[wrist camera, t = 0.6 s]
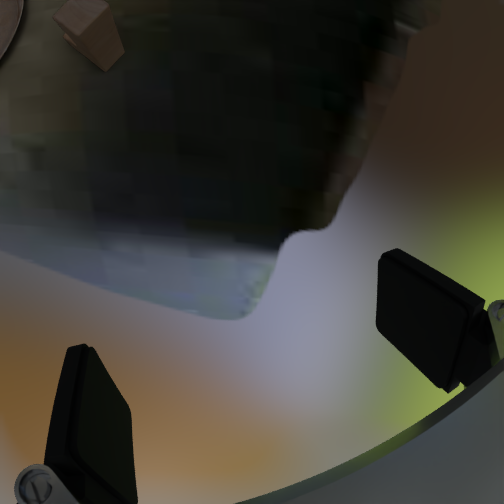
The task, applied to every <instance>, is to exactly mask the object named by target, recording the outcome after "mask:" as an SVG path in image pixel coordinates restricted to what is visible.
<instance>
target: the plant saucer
mask: <svg viewBox="0 0 504 504" xmlns="http://www.w3.org/2000/svg"><path fill="white" fill-rule="evenodd" d="M23 3H24V0H0V59H1V58H2V57H3V55H4V54H5V52H6V50H7V49H8V47H9V45H10V43H11V42H12V40H13V38H14V35H15V33H16V31H17V28H18V25H19V22H20V19H21V15H22V10H23Z"/></svg>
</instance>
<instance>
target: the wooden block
mask: <svg viewBox="0 0 504 504" xmlns="http://www.w3.org/2000/svg"><path fill="white" fill-rule="evenodd" d="M53 19H54V20H55V21H56V22H57V24H58V25H59V26H60V27H61V28H62V29H63V30H64V32H65V34H64V35H63V38H64V39H65V40H66V41H67V42H68V43H69V44H70V45H71V46H72V47H74V48H75V49H76V50H78V51H79V52H80V53H81V54H83V55H84V56H85V57H87V58H88V59H89V60H90V61H92V62H93V63H94V64H95V65H97V66H98V67H99V68H100V69H102V70H103V71H104V72H106V71H108V70H109V69H110V67H111V66H112V65H113V64H114V63H115V62H116V61H117V60H118V59H119V58H120V57H121V56H122V55H123V54H124V52H125V51H124V48H123V45H122V42H121V40H120V37H119V34H118V31H117V28H116V25H115V22H114V18H113V15H112V12H111V9H110V6H109V4H108V3H107V2H105V1H104V0H68V1H67V2H66V3H65V4H64V5H63V6H62V7H61V8H60V9H59V10H58V11H57V12H56V13H55V14H54V15H53Z"/></svg>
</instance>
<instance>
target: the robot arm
mask: <svg viewBox="0 0 504 504" xmlns="http://www.w3.org/2000/svg"><path fill="white" fill-rule="evenodd" d="M484 304H485V300H484V299H483V298H481V297H480V296H478V295H476V294H475V293H473V292H472V291H470V290H468V289H467V288H465V287H464V286H462V285H460V284H459V283H457V282H455V281H454V280H452V279H451V278H449V277H447V276H445V275H444V274H442V273H441V272H439V271H437V270H435V269H434V268H432V267H430V266H429V265H427V264H425V263H423V262H422V261H420V260H418V259H416V258H415V257H413V256H411V255H409V254H408V253H406V252H404V251H402V250H401V249H398V248H396V249H393V250H390V251H387V252H385V253H383V254H382V255H381V258H380V259H379V261H378V285H377V311H376V327H377V329H378V331H379V332H380V333H381V334H382V335H383V336H384V337H385V338H386V339H387V340H388V341H390V343H391V344H392V345H394V346H395V347H396V348H397V349H398V350H399V351H400V352H401V353H402V354H403V355H404V356H405V357H406V358H407V359H408V360H409V361H410V362H411V363H413V365H414V366H416V367H417V368H418V369H419V370H420V371H421V372H422V373H423V374H424V375H425V376H426V377H427V378H428V379H429V380H430V381H431V382H432V383H433V384H434V385H435V386H436V387H438V388H442V389H443V390H444V391H446V392H447V393H450V392H451V391H452V390H454V389H455V388H456V387H458V386H459V383H460V382H461V383H462V384H463V385H464V390H463V391H462V392H460V393H459V394H458V395H456V396H455V397H454V398H452V399H451V400H450V401H448V402H447V403H445V404H444V405H442V406H441V407H440V408H438V409H437V410H435V411H434V412H432V413H431V414H429V415H428V416H426V417H425V418H423V419H422V420H420V421H419V422H417V423H415V424H414V425H412V426H411V427H409V428H407V429H406V430H404V431H402V432H401V433H399V434H397V435H396V436H394V437H392V438H391V439H389V440H387V441H386V442H383V443H382V444H380V445H378V446H376V447H374V448H373V449H371V450H369V451H367V452H365V453H363V454H361V455H359V456H357V457H355V458H353V459H351V460H349V461H347V462H345V463H343V464H341V465H338V466H336V467H334V468H332V469H330V470H327V471H325V472H323V473H320V474H318V475H316V476H313V477H311V478H308V479H306V480H303V481H301V482H298V483H295V484H293V485H290V486H288V487H285V488H282V489H279V490H277V491H273V492H271V493H268V494H265V495H262V496H258V497H255V498H252V499H249V500H246V501H242V502H238V503H235V504H504V300H496V301H494V302H492V303H491V304H490V305H489V307H488V309H487V311H486V310H484V309H483V308H484ZM132 440H133V439H132V418H131V411H130V408H129V406H128V404H127V402H126V401H125V399H124V398H123V396H122V395H121V393H120V391H119V390H118V388H117V387H116V385H115V383H114V382H113V380H112V378H111V377H110V375H109V374H108V372H107V370H106V368H105V367H104V365H103V363H102V361H101V359H100V358H99V356H98V354H97V353H96V351H95V349H94V348H93V347H88V346H87V345H86V344H80V345H76V346H72V347H69V348H68V349H67V352H66V355H65V359H64V363H63V367H62V371H61V375H60V379H59V383H58V388H57V392H56V396H55V400H54V405H53V410H52V415H51V420H50V426H49V432H48V437H47V444H46V450H45V458H44V465H43V464H34V465H30V466H28V467H27V468H25V469H24V470H23V471H22V472H21V473H20V474H19V475H18V477H17V479H16V482H15V486H14V492H15V497H16V499H17V501H18V503H17V504H137V503H138V497H137V488H136V478H135V468H134V454H133V441H132Z"/></svg>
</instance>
